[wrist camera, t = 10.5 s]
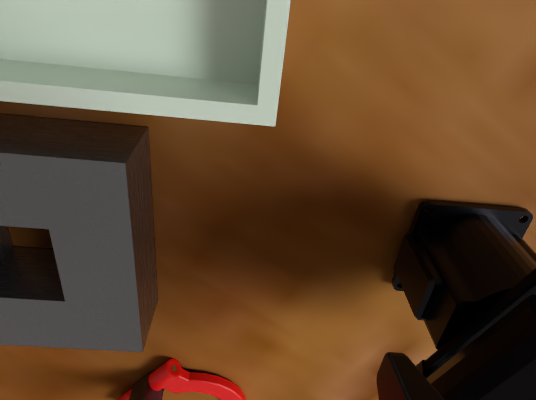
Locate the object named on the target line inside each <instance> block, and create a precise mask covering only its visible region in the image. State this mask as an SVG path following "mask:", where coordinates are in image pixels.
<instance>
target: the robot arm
mask: <svg viewBox="0 0 536 400" xmlns="http://www.w3.org/2000/svg"><path fill="white" fill-rule="evenodd" d="M428 208H431V209H430V210H429V211H427V212H425V210H426V209H428ZM522 216H523V218H521V217H522ZM520 218H521V219H520ZM532 219H533V215H532V214H531V213H530V212H529V211H528V210H527V209H525V208H515V207H503V206H491V205H479V204H467V203H455V202H442V201H430V200H428V201H424V202H422V203H421V204H420V205H419V206H418V208H417V211H416V214H415V217H414V219H413V222H412V225H411V228H410V231H409V233H408V234H407V235H406V236H405V237H404V240H403V243H402V245H401V248H400V251H399V254H398V257H397V260H396V262H395V265H394V269H395V272H394V275H393V278H392V285H393V287H394V289H395V290H398V291H404V293H405V295H406V297H407V300H408V302H409V304H410V307H411V309H412V312H413V314H414V316H415V317H416V318H417V319H418V320H424V322H425V324H426V326H427V329H428V331H429V333H430V335H431V338H432V340H433V342H434V344H435V347H436V348H437V351H436V352H435V353H434V354H432V355H431V356H430V357H429V358H428V359H427V360H422V361H421V362H420V363H419V364H417V365H416V366H415V365H414V364H413V363H412V361H411V360H410V359H409V358H408V357H407V356H406V355H405V354H403V353H394V352H388V353H386V354H385V356H384V358H383V361H382V363H381V366H380V368H379V371H378V373H377V389H378V396H379V400H536V253H535V252H534V251H533V250H532V249H531V248H530V247H529V246H528V245H527V244H526V242H525V241H524V240H523V239H522V238H523V236H524V234H525V232H526V230H527V228H528V227H529V225H530V223H531V221H532ZM398 283H399V284H398Z"/></svg>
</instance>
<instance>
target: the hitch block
mask: <svg viewBox="0 0 536 400" xmlns="http://www.w3.org/2000/svg"><path fill="white" fill-rule="evenodd" d="M7 226H11V227H25V228H38V229H49V232H50V236H51V241H52V245H53V249H44V248H29V247H15V246H13V245H12V241H11V238H10V234H9V231H8V228H7ZM157 301H158V292H157V274H156V256H155V238H154V220H153V202H152V184H151V166H150V148H149V130H148V127H142V126H131V125H120V124H109V123H98V122H87V121H76V120H65V119H54V118H43V117H32V116H21V115H10V114H0V345H19V346H38V347H57V348H76V349H95V350H115V351H134V352H143V349H144V346H145V343H146V339H147V336H148V332H149V329H150V325H151V322H152V319H153V315H154V312H155V308H156V305H157Z"/></svg>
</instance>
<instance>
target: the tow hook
mask: <svg viewBox="0 0 536 400" xmlns="http://www.w3.org/2000/svg"><path fill="white" fill-rule="evenodd" d="M164 389H166V390H169V391H171V392H173V393H181V392H202V393H206V394H210V395H213V396H215V397H218V398H219V399H220V400H245V395H244V394H243V392H242V391H241V389H240V388H239V387H238V386H236V385H235V384H234V383H232V382H231V381H229V380H226V379H224V378H222V377H220V376H216V375H212V374H207V373H197V372H188V371H186V370H184V369H182V367H181V364H180V363H179V362H178V361H177V360H176V359H170V360H168V361H167V362H166V363H164V364H163V365H162V366H160V367H159V368H158V369H156V370H155V371H154V372H150V373H149V374H148V375H146V376H145V377H144V378H142V379H141V380H140V381H138V382H137V383H136V384H134V386H133V387H132V388H131V389H130V390H129V391H127V392H126V393H125V394H123V395H122V396H121V397H119V398H118V399H117V400H162V396H163V391H164Z"/></svg>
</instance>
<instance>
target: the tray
mask: <svg viewBox="0 0 536 400" xmlns="http://www.w3.org/2000/svg"><path fill="white" fill-rule="evenodd" d="M290 1H291V0H0V101H6V102H17V103H28V104H39V105H49V106H60V107H71V108H82V109H92V110H103V111H114V112H125V113H135V114H146V115H157V116H168V117H178V118H189V119H200V120H211V121H222V122H232V123H243V124H254V125H265V126H275V125H276V117H277V108H278V100H279V92H280V84H281V75H282V67H283V59H284V50H285V42H286V34H287V26H288V17H289V9H290Z"/></svg>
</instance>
